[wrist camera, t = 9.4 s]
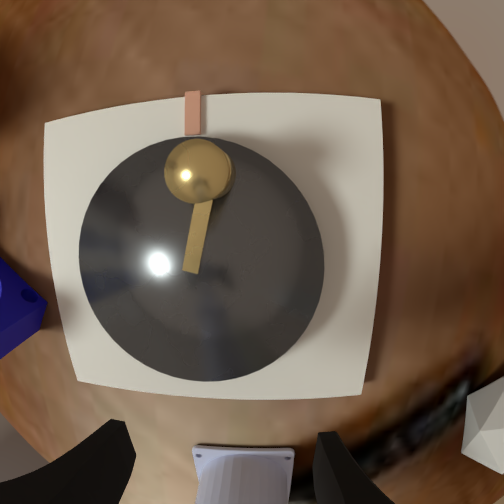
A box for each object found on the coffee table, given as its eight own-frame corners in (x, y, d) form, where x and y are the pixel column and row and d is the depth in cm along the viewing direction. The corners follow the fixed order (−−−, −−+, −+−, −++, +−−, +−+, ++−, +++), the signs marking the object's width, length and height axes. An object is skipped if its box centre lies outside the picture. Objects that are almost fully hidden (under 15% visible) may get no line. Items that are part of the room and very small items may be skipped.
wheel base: (356, 384, 19) (362, 399, 18) (84, 372, 20) (74, 384, 19) (373, 101, 16) (383, 93, 14) (55, 122, 16) (40, 119, 15)
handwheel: (283, 393, 17) (287, 438, 14) (82, 338, 17) (49, 369, 13) (349, 172, 15) (377, 169, 11) (105, 123, 15) (64, 111, 11)
